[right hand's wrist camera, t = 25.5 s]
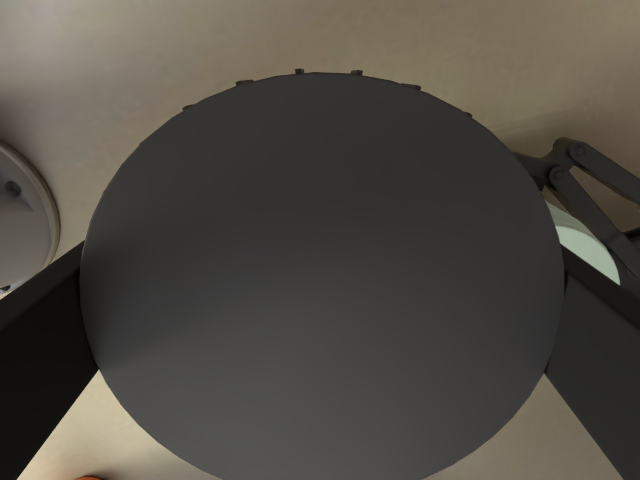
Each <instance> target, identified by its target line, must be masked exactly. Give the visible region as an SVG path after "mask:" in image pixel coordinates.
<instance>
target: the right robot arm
mask: <svg viewBox="0 0 640 480" xmlns="http://www.w3.org/2000/svg"><path fill="white" fill-rule="evenodd" d="M59 233H60V232H59V218H58V213H57V209H56V206H55V203H54V200H53V198H52V195H51V193H50V191H49V189H48V187H47V185H46V184H45V182H44V181H43V179H42V178H41V176H40V175H39V174H38V172H37V171H36V170H35V169H34V167H33V166H32V165H31V164H30V163H29V162H28V161H27V160H26V159H25V158H24V157H23V156H22V155H20V154H19V153H18V152H17V151H16V150H14V149H13V148H12V147H10V146H9V145H7V144H6V143H4V142H2V141H1V140H0V294H3V293H6V292H9V291H11V290H14V289H15V290H14V291H12V292H11V293H9V294H8V295H6V296H5V297H4V298H2V299H1V300H0V480H17V478H18V477H19V476H20V474H21V473H22V472H23V470H24V469H25V468H26V466H27V465H28V464H29V462H30V461H31V460H32V458H33V457H34V456H35V454H36V453H37V452H38V450H39V449H40V448H41V446H42V445H43V444H44V442H45V441H46V439H47V438H48V437H49V435H50V434H51V433H52V431H53V430H54V429H55V427H56V426H57V425H58V423H59V422H60V421H61V419H62V418H63V417H64V415H65V414H66V413H67V411H68V410H69V409H70V407H71V406H72V405H73V403H74V402H75V401H76V399H77V398H78V397H79V395H80V394H81V393H82V391H83V390H84V389H85V387H86V386H87V385H88V383H89V382H90V381H91V379H92V378H93V377H94V375H95V374H96V373H97V371H98V370H99V368H98V366H97V364H96V362H95V360H94V357H93V354H92V351H91V349H90V346H89V343H88V340H87V337H86V334H85V329H84V324H83V318H82V313H81V308H80V285H79V276H80V268H81V259H82V251H83V246H84V243H85V240H84V241H83V242H81V243H80V244H78V245H77V246H76V247H74V248H73V249H71V250H70V251H68V252H67V253H66V254H64V255H63V256H61V257H60V258H59V259H57V260H56V261H54V262H53V263H52V264H50V265H49V263H50V262H51V260H52V259H53V257H54V255H55V252H56V249H57V246H58V241H59ZM560 245H561V251H562V256H563V262H564V273H565V297H564V302H563V307H562V311H561V316H560V320H559V324H558V328H557V333H556V337H555V341H554V345H553V350H552V353H551V357H550V359H549V362H548V364H547V366H546V368H545V371H544V373H545V375H546V376H547V377H548V379H549V380H550V381H551V383H552V384H553V386H554V387H555V388H556V390H557V391H558V392H559V394H560V395H561V396H562V398H563V399H564V400H565V402H566V403H567V404H568V406H569V407H570V408H571V410H572V411H573V412H574V414H575V415H576V416H577V418H578V419H579V420H580V422H581V423H582V424H583V426H584V427H585V428H586V430H587V431H588V432H589V434H590V435H591V436H592V438H593V439H594V440H595V442H596V443H597V444H598V446H599V447H600V448H601V450H602V451H603V452H604V454H605V455H606V457H607V458H608V459H609V461H610V462H611V463H612V465H613V466H614V467H615V469H616V470H617V471H618V473H619V474H620V475H621V477H622V478H623V479H624V480H640V299H638V298H637V297H635V296H634V295H632V294H631V293H630V292H628V291H627V290H625V289H624V288H623V287H621V286H620V285H618V284H617V283H616V282H614V281H613V280H611V279H610V278H608V277H607V276H606V275H604V274H603V273H601V272H600V271H599V270H597V269H596V268H594V267H593V266H592V265H590V264H589V263H587V262H586V261H585V260H583V259H582V258H580V257H579V256H577V255H576V254H575V253H573V252H572V251H570V250H569V249H568V248H566V247H565V246H563V245H562V244H561V243H560ZM48 265H49V266H48Z"/></svg>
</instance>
